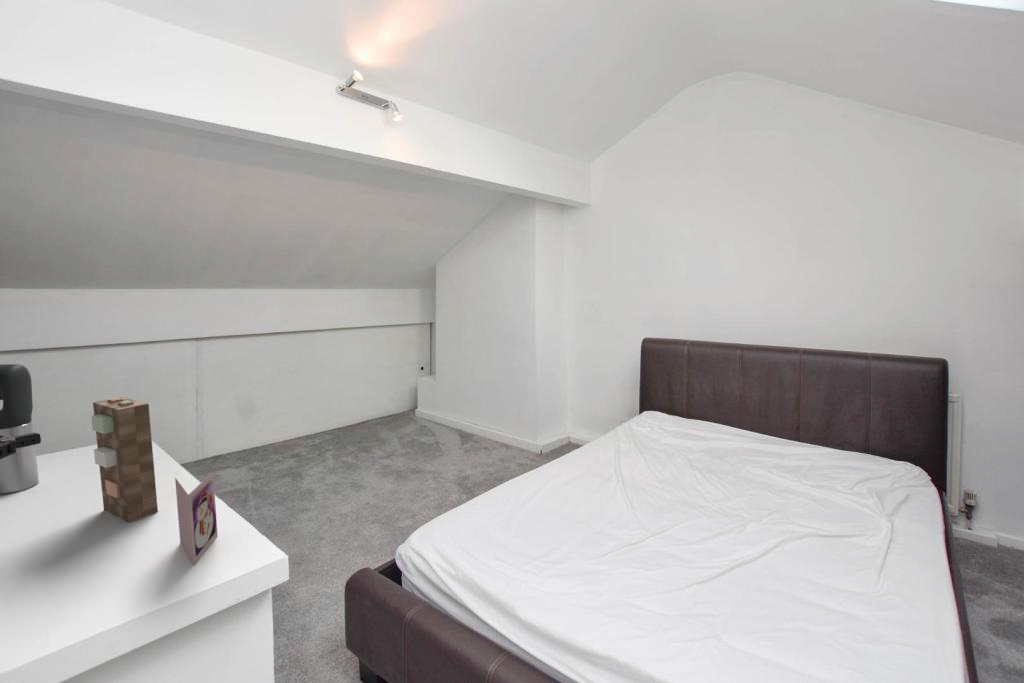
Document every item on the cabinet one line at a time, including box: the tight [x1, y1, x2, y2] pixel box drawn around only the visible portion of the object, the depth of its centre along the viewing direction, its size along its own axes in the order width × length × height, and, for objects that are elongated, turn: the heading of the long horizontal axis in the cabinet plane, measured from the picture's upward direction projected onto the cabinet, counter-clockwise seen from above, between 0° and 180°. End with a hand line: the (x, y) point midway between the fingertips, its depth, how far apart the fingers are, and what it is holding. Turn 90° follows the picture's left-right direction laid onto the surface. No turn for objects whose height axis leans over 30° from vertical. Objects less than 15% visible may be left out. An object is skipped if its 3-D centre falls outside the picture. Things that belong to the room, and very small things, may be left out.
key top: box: [90, 414, 114, 434], centre depth 113 cm, size 5×3×3 cm, turn 62°
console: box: [92, 396, 159, 523], centre depth 117 cm, size 12×6×28 cm, turn 62°
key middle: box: [93, 447, 117, 468], centre depth 114 cm, size 5×3×3 cm, turn 62°
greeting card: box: [174, 471, 219, 567], centre depth 101 cm, size 11×7×15 cm, turn 10°
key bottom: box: [105, 479, 121, 499], centre depth 116 cm, size 5×3×3 cm, turn 62°
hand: (38, 437), depth 102 cm, fingers closed
